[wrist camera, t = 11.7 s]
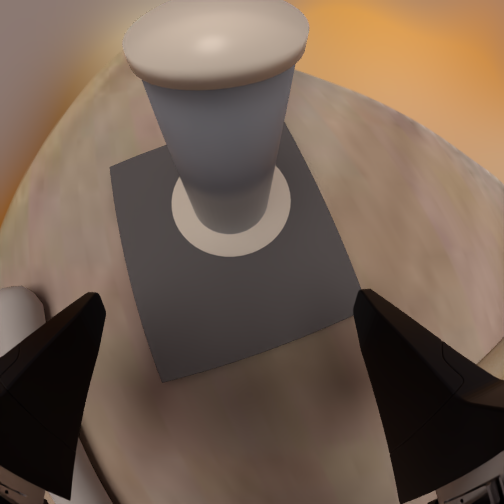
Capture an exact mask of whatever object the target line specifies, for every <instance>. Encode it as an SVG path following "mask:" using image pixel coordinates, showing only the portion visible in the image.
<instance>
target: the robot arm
mask: <svg viewBox="0 0 504 504" xmlns="http://www.w3.org/2000/svg"><path fill="white" fill-rule="evenodd" d="M353 315H354V319H355V324H356V329H357V333H358V338H359V343H360V348H361V352H362V355H363V359H364V362H365V365H366V368H367V371H368V375H369V378H370V381H371V385H372V388H373V391H374V395H375V398H376V402H377V406H378V409H379V413H380V417H381V420H382V424H383V428H384V432H385V436H386V440H387V444H388V449H389V453H390V458H391V462H392V467H393V472H394V476H395V481H396V486H397V492H398V497H399V502H400V504H403V503H406V502H408V501H411V500H413V499H416V498H418V497H421V496H423V495H425V494H428V493H430V492H432V491H434V490H436V494H437V499H435V500H433V501H431V502H429V503H428V504H504V380H501V379H499V378H497V377H495V376H493V375H492V374H490V373H489V372H487V371H486V370H484V369H482V368H481V367H479V366H478V365H476V364H475V363H473V362H472V361H470V360H469V359H467V358H466V357H464V356H463V355H461V354H460V353H458V352H457V351H456V350H454V349H453V348H451V347H450V346H449V345H447V344H446V343H445V342H443V341H441V339H439V338H438V337H437V336H435V335H434V334H433V333H431V332H430V331H429V330H427V329H426V328H424V327H423V326H422V325H420V324H419V323H418V322H416V321H415V320H414V319H412V318H411V317H409V316H408V315H407V314H405V313H404V312H402V311H401V310H400V309H398V308H397V307H395V306H394V305H393V304H391V303H390V302H388V301H387V300H386V299H384V298H383V297H381V296H380V295H378V294H377V293H376V292H374V291H373V290H371V289H360V290H359V291H358V293H357V297H356V300H355V304H354V307H353ZM105 318H106V311H105V308H104V305H103V303H102V300H101V297H100V295H99V294H98V293H96V292H88V293H86V294H85V295H83V296H82V297H80V298H79V299H77V300H76V301H75V302H73V303H72V304H70V305H69V306H68V307H66V308H65V309H63V310H62V311H61V312H59V313H58V314H57V315H55V316H54V317H53V318H51V319H50V320H49V321H47V322H46V323H44V324H43V325H42V326H41V327H39V328H38V329H37V330H35V331H34V332H33V333H31V334H30V335H29V336H27V337H26V338H25V339H24V340H22V341H21V343H18V344H17V345H16V346H15V347H13V348H12V349H11V350H10V351H8V352H7V353H6V354H4V355H3V356H2V357H0V504H48V502H47V500H46V499H44V495H45V490H46V491H48V492H50V493H52V494H55V495H57V496H59V497H62V498H64V499H66V500H69V501H70V500H71V491H72V481H73V472H74V464H75V457H76V452H75V451H76V449H77V443H78V437H79V432H80V426H81V421H82V416H83V411H84V407H85V402H86V398H87V394H88V390H89V386H90V382H91V378H92V374H93V370H94V367H95V363H96V359H97V356H98V352H99V347H100V342H101V337H102V332H103V327H104V322H105Z"/></svg>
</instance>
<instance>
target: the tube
mask: <svg viewBox="0 0 504 504" xmlns="http://www.w3.org/2000/svg"><path fill="white" fill-rule="evenodd" d="M44 323H46V320H45V314H44V307H43V304H42V303H41V301H40V300H39V299H38V297H37V296H36V295H35V293H33V292H32V291H30V290H28V289H27V288H25V287H24V286H11V287H7V288H2V289H0V357H2V356H3V355H4V354H6V353H7V352H8V351H10V350H11V349H12V348H13V347H15V346H16V345H17V344H18V343H21V341H22V340H24V339H25V338H26V337H27V336H29V335H30V334H31V333H33V332H34V331H35V330H37V329H38V328H39V327H41V326H42V325H43V324H44ZM75 452H76V457H75V464H74V472H73V481H72V491H71V500H70V501H69V500H66V499H64V498H62V497H59V496H57V495H55V494H52V493H50V492H49V494H50V495H51V497H52V499H53V500H54V502H55V504H113V503H112V501H111V500H110V498H109V496H108V495H107V493H106V491H105V489H104V488H103V486H102V484H101V482H100V480H99V479H98V477H97V475H96V473H95V471H94V469H93V467H92V465H91V463H90V461H89V459H88V457H87V454H86V452H85V450H84V448H83V446H82V443H81V441H80V439H79V437H78V443H77V449H76V451H75Z"/></svg>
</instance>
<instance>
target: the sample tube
mask: <svg viewBox="0 0 504 504" xmlns="http://www.w3.org/2000/svg"><path fill="white" fill-rule="evenodd" d="M308 33H309V23H308V21H307V19H306V17H305V16H304V14H303V13H302V12H301V11H300V10H299V9H297V8H296V7H294V6H293V5H291V4H290V3H288V2H286V1H283V0H170V1H168V2H165V3H163V4H161V5H159V6H157V7H155V8H153V9H151V10H150V11H148V12H146V13H145V14H144V15H142V16H141V17H139V18H138V19H137V20H136V21H135V22H134V23H133V24H132V25H131V26H130V27H129V28H128V30H127V32H126V33H125V36H124V38H123V44H122V45H123V50H124V53H125V55H126V58H127V61H128V63H129V66H130V68H131V70H132V71H133V73H134V74H135V75H136V76H137V77H139V78H140V79H142V81H143V84H144V87H145V90H146V92H147V95H148V98H149V100H150V103H151V106H152V108H153V111H154V113H155V116H156V119H157V121H158V124H159V126H160V129H161V131H162V134H163V137H164V139H165V142H166V144H167V147H168V149H169V152H170V154H171V157H172V159H173V162H174V164H175V166H176V169H177V171H178V174H179V176H180V179H181V181H182V183H183V186H184V188H185V191H186V193H187V195H188V198H189V200H190V202H191V205H192V207H193V209H194V212H195V214H196V216H197V218H198V219H199V220H200V222H201V223H202V224H203V225H204V226H206V227H207V228H208V229H210V230H212V231H215V232H217V233H221V234H237V233H241V232H244V231H247V230H248V229H250V228H252V227H253V226H255V225H256V224H257V223H258V222H259V221H260V220H261V218H262V217H263V215H264V214H265V211H266V208H267V204H268V199H269V194H270V189H271V185H272V180H273V175H274V170H275V165H276V160H277V155H278V150H279V144H280V139H281V134H282V129H283V124H284V119H285V114H286V109H287V104H288V99H289V94H290V89H291V83H292V78H293V73H294V67H295V64H296V63H297V61H299V60H300V58H301V57H302V55H303V53H304V51H305V47H306V42H307V37H308Z"/></svg>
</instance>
